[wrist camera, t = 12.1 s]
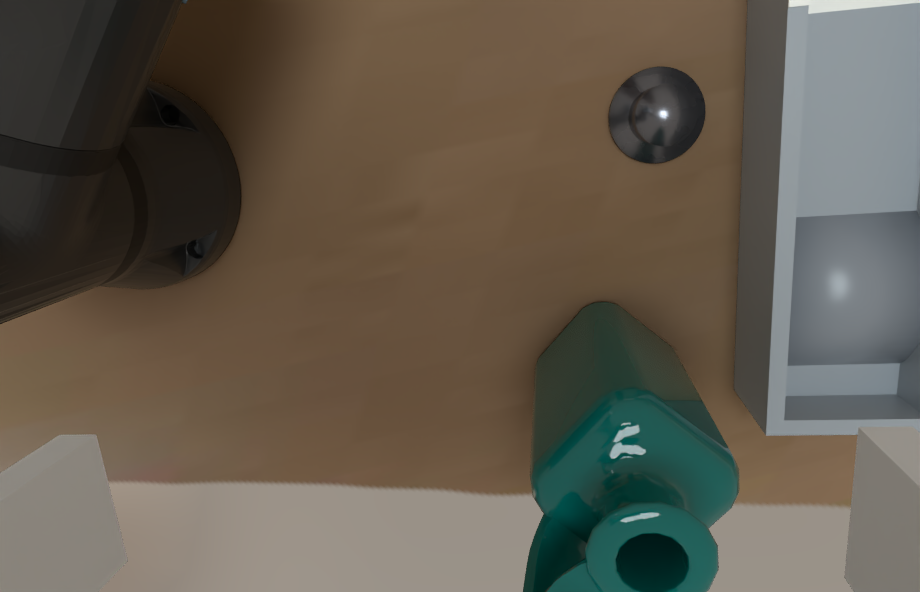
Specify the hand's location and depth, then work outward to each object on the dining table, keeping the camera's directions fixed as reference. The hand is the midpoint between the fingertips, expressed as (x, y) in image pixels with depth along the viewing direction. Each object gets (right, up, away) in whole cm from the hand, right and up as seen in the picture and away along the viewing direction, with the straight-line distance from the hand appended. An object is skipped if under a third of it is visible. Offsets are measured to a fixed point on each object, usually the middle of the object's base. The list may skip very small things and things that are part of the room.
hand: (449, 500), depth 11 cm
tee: (+13, +15, +30) cm, 36 cm away
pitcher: (+10, -2, +36) cm, 37 cm away
